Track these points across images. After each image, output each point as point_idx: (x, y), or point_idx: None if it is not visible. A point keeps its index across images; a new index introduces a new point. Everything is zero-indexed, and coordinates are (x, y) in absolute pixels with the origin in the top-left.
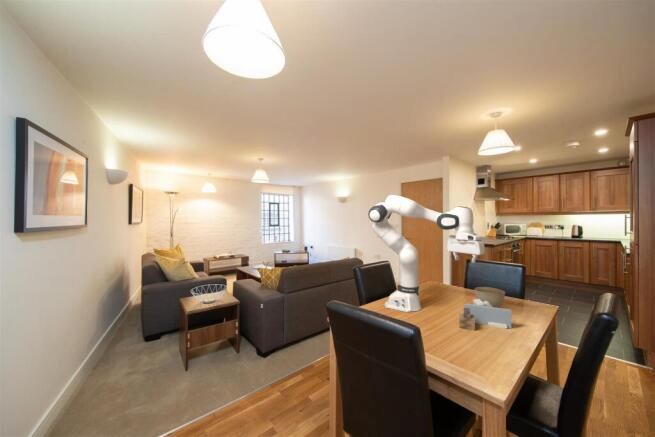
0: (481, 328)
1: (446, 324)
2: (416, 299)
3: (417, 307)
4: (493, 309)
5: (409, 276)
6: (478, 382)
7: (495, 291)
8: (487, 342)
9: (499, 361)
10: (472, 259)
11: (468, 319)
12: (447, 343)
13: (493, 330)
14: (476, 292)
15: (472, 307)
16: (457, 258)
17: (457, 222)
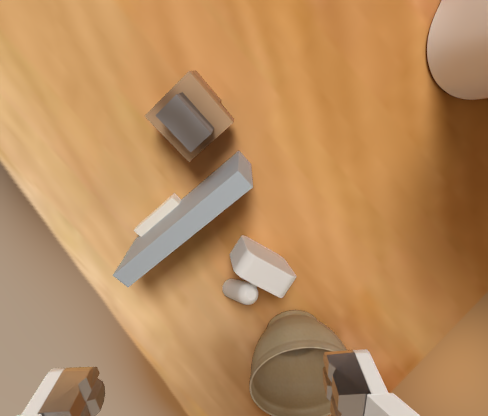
0: (165, 151)
1: (244, 46)
2: (477, 35)
3: (440, 39)
4: (154, 239)
5: None
6: None
7: (307, 405)
8: (61, 62)
9: None
10: (32, 412)
11: (162, 98)
12: None
13: (139, 175)
14: (331, 343)
15: (213, 189)
16: (332, 376)
17: None
